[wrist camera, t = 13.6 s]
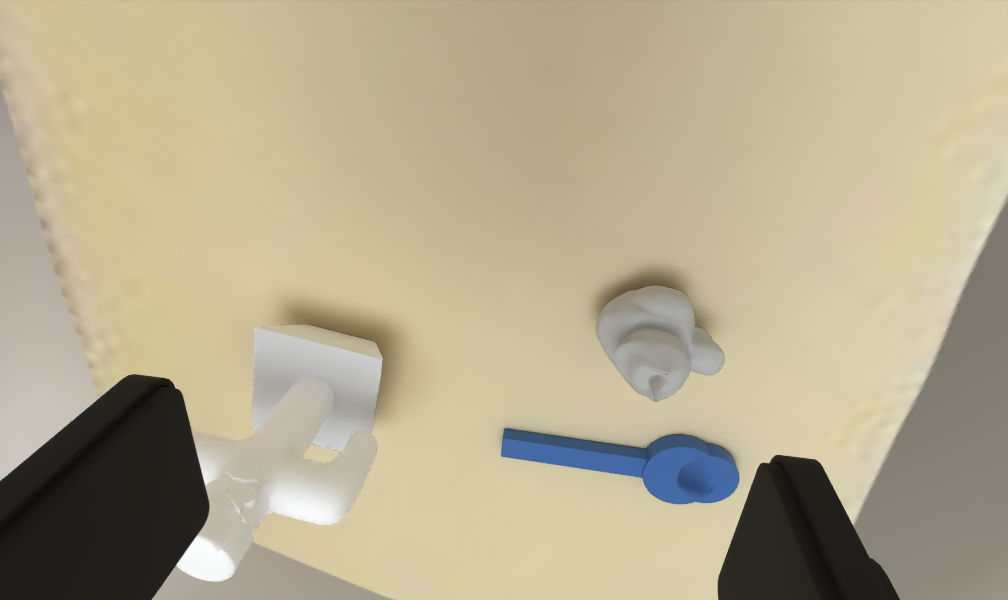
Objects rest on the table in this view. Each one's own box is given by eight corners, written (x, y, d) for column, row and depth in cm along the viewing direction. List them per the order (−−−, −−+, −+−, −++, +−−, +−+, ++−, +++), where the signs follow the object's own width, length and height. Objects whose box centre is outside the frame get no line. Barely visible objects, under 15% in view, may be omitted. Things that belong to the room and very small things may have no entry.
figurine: (402, 425, 38) (305, 646, 24) (263, 389, 38) (91, 590, 25) (419, 332, 35) (319, 528, 21) (267, 293, 35) (71, 464, 21)
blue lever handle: (500, 464, 38) (498, 477, 37) (506, 408, 36) (504, 420, 35) (724, 498, 37) (728, 512, 36) (743, 443, 35) (749, 456, 34)
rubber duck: (610, 260, 31) (620, 331, 24) (729, 290, 31) (773, 370, 24) (583, 343, 34) (584, 431, 27) (692, 371, 34) (723, 466, 27)
